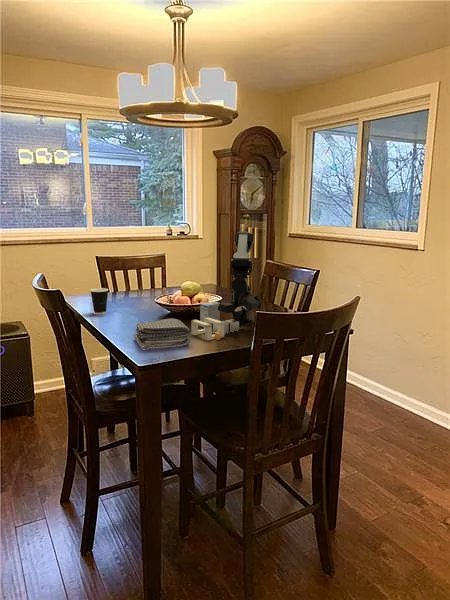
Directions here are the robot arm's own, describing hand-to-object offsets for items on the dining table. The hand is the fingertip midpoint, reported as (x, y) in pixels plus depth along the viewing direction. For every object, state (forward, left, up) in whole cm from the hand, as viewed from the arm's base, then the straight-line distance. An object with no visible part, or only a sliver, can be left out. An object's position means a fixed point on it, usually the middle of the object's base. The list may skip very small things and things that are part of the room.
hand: (239, 326), depth 183 cm
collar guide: (+16, 0, -1) cm, 16 cm away
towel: (+34, -3, -2) cm, 35 cm away
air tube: (+7, 0, -1) cm, 7 cm away
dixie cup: (+33, -58, -1) cm, 67 cm away
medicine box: (+4, -14, -1) cm, 15 cm away
